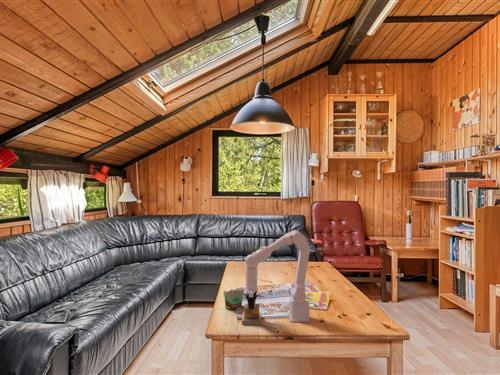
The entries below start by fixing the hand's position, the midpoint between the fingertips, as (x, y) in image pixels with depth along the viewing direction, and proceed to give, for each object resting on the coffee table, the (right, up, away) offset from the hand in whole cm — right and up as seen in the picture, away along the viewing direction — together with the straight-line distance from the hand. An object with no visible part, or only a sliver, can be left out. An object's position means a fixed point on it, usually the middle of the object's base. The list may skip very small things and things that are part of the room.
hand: (251, 306), depth 161 cm
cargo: (0, 0, 0) cm, 0 cm away
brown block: (0, -5, 0) cm, 5 cm away
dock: (0, -7, 0) cm, 7 cm away
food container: (-8, -7, +15) cm, 19 cm away
